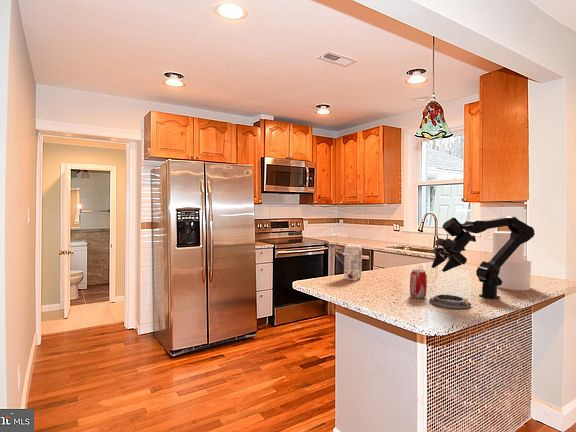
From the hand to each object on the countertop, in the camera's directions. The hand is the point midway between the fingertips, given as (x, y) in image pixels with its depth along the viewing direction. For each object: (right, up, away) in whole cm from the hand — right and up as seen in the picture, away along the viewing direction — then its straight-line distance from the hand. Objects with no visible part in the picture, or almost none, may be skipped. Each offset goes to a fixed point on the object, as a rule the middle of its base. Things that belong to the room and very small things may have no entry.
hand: (437, 269), depth 160 cm
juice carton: (-31, -11, +37) cm, 50 cm away
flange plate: (+1, -13, -9) cm, 16 cm away
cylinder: (+49, -13, +26) cm, 57 cm away
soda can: (-8, -13, +1) cm, 15 cm away
